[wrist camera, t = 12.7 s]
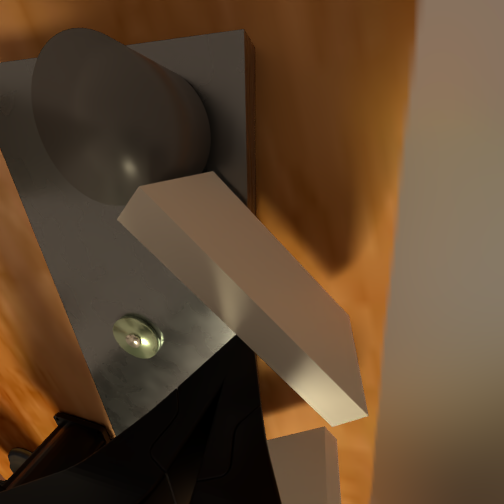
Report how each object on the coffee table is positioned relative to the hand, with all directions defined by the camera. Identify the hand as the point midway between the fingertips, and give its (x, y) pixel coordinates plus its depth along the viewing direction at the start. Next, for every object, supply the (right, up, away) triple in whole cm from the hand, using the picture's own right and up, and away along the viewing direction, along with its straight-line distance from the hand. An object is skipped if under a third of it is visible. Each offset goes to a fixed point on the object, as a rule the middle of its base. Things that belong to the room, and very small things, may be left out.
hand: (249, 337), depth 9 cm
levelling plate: (-6, -2, +7) cm, 9 cm away
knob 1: (-1, +5, +1) cm, 5 cm away
